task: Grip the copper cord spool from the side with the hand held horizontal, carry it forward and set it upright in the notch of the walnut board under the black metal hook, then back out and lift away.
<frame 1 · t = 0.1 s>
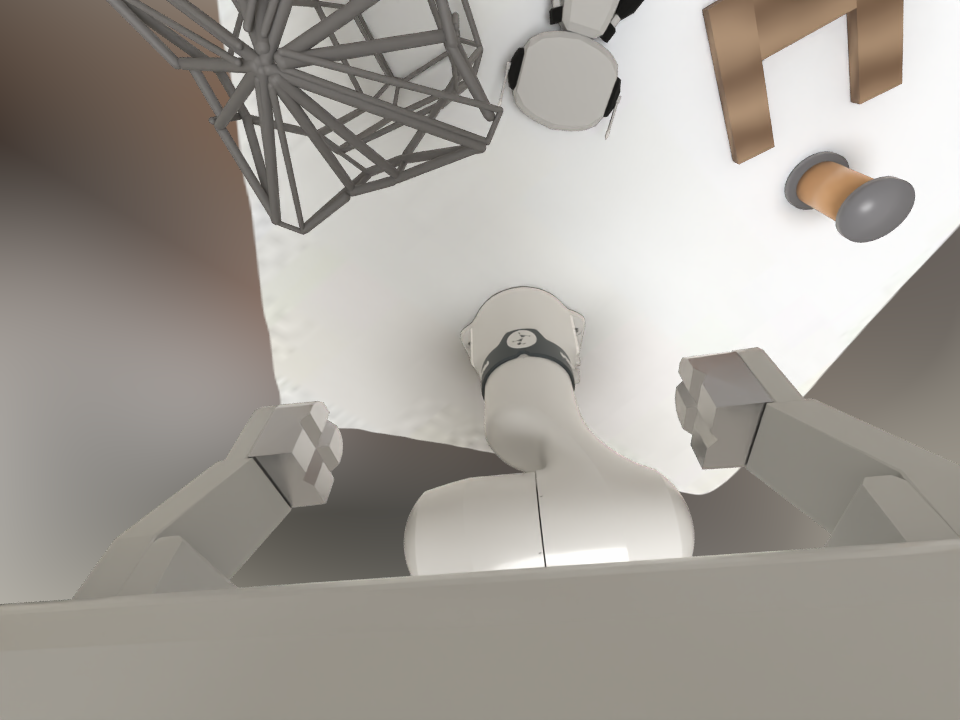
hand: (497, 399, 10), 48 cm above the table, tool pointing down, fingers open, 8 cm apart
geometric lantern: (401, 31, 45), on the table
cord spool: (813, 180, 53), on the table
robot toy: (571, 44, 45), on the table
notched board: (803, 77, 46), on the table
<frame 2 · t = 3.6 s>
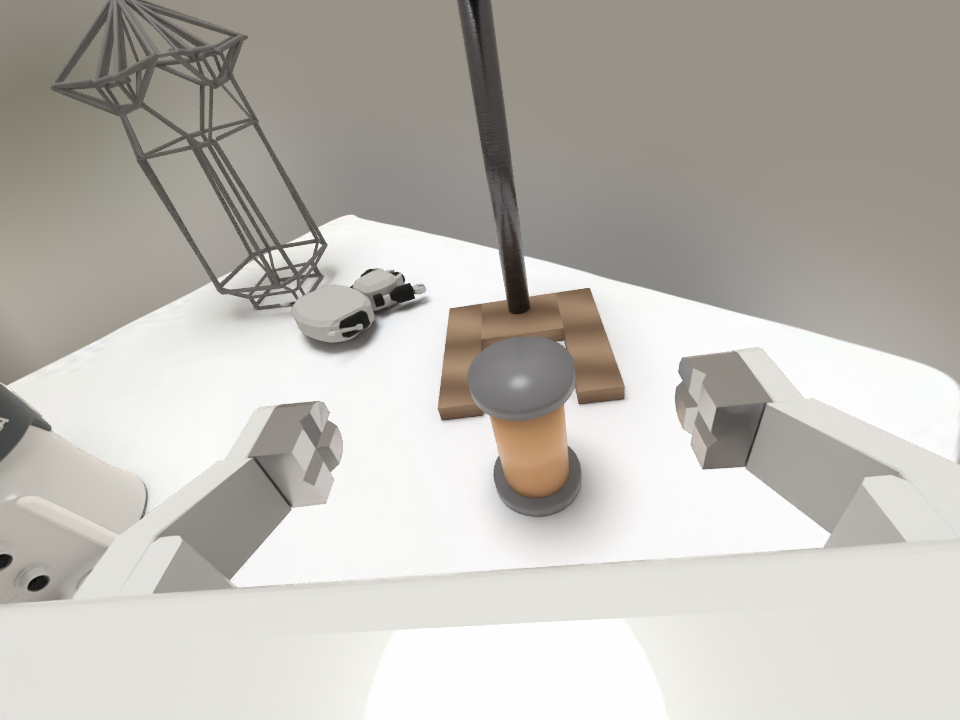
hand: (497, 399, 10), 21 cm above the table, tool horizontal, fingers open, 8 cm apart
geometric lantern: (283, 294, 65), on the table
hook stand: (499, 184, 35), on the notched board, point 17 cm above the table
cord spool: (537, 477, 33), on the table
robot toy: (363, 318, 56), on the table
notched board: (526, 372, 42), on the table
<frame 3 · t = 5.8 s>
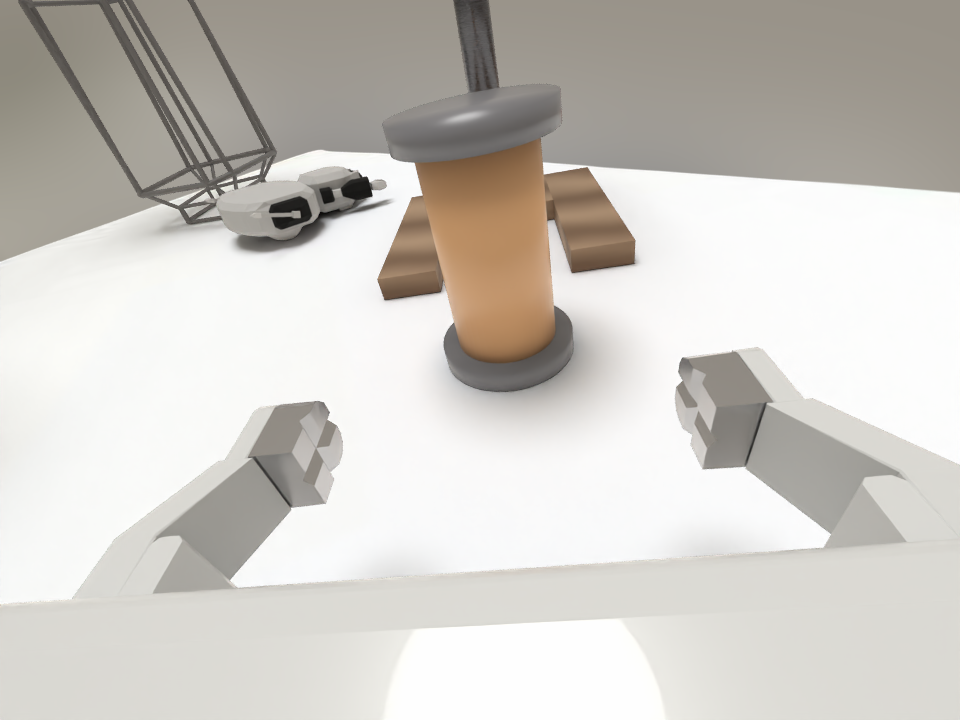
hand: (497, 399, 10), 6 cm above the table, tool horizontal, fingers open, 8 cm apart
geometric lantern: (224, 212, 55), on the table
cord spool: (509, 348, 22), on the table
robot toy: (310, 223, 46), on the table
notched board: (503, 249, 32), on the table
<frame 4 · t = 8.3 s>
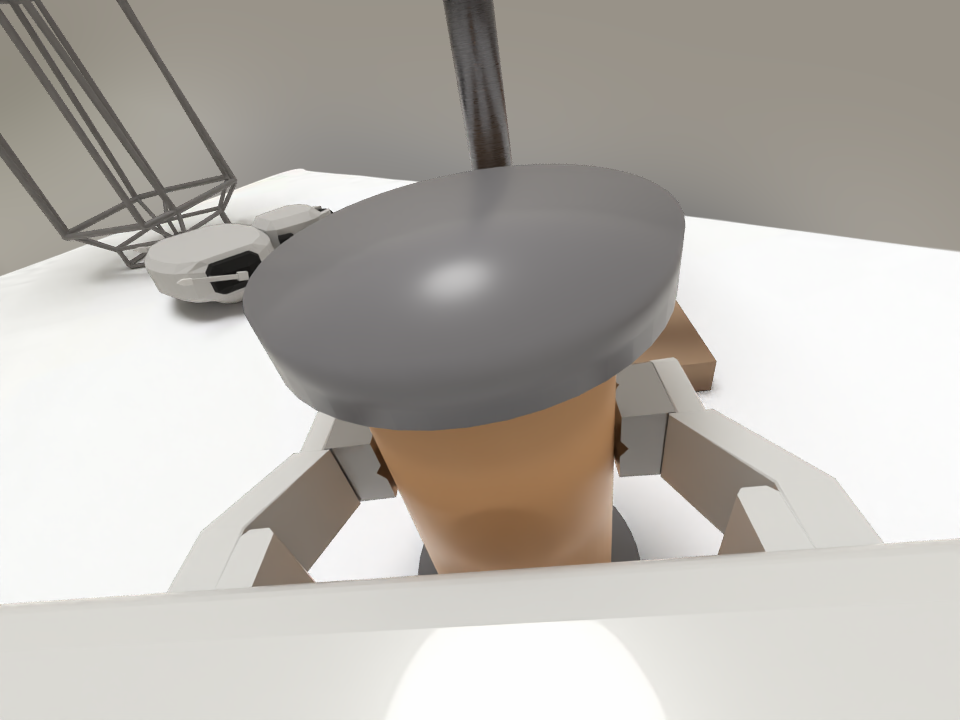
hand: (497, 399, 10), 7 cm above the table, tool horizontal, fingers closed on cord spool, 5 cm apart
geometric lantern: (175, 251, 46), on the table
cord spool: (528, 574, 13), on the table, touching gripper
robot toy: (270, 275, 37), on the table
notched board: (512, 343, 23), on the table
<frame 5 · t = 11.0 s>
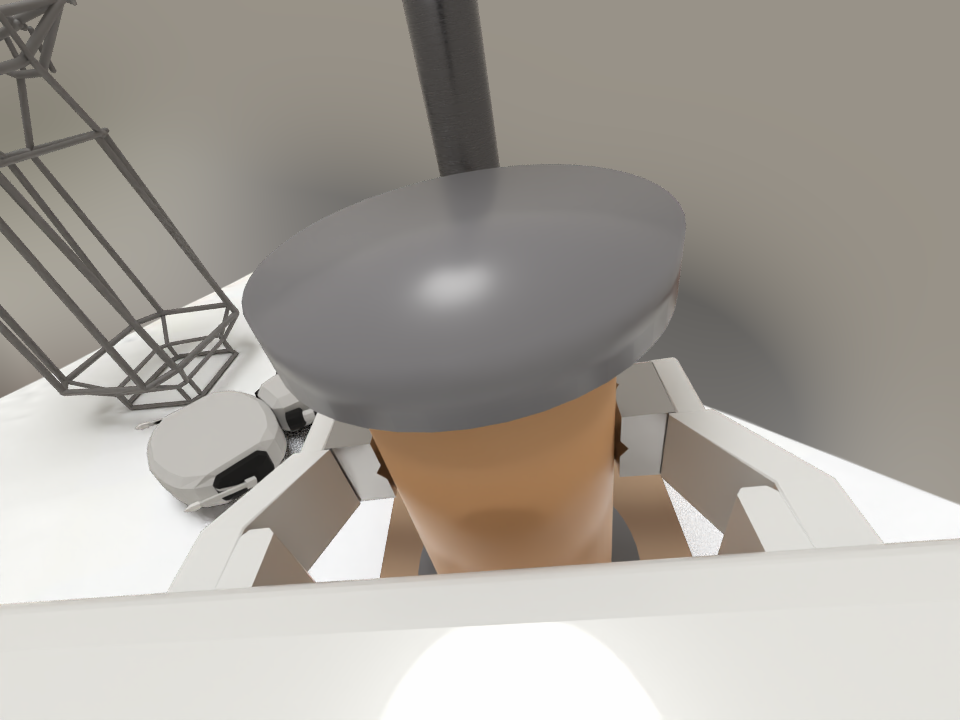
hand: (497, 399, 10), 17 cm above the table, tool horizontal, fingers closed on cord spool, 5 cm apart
geometric lantern: (176, 383, 45), on the table
hook stand: (479, 286, 15), on the notched board, point 17 cm above the table
cord spool: (528, 575, 13), point 10 cm above the table, touching gripper
robot toy: (276, 441, 36), on the table
notched board: (535, 613, 22), on the table
when the fingers open (8 cm above the table, at t = 13.9 s): cord spool drops 1 cm, on the table.
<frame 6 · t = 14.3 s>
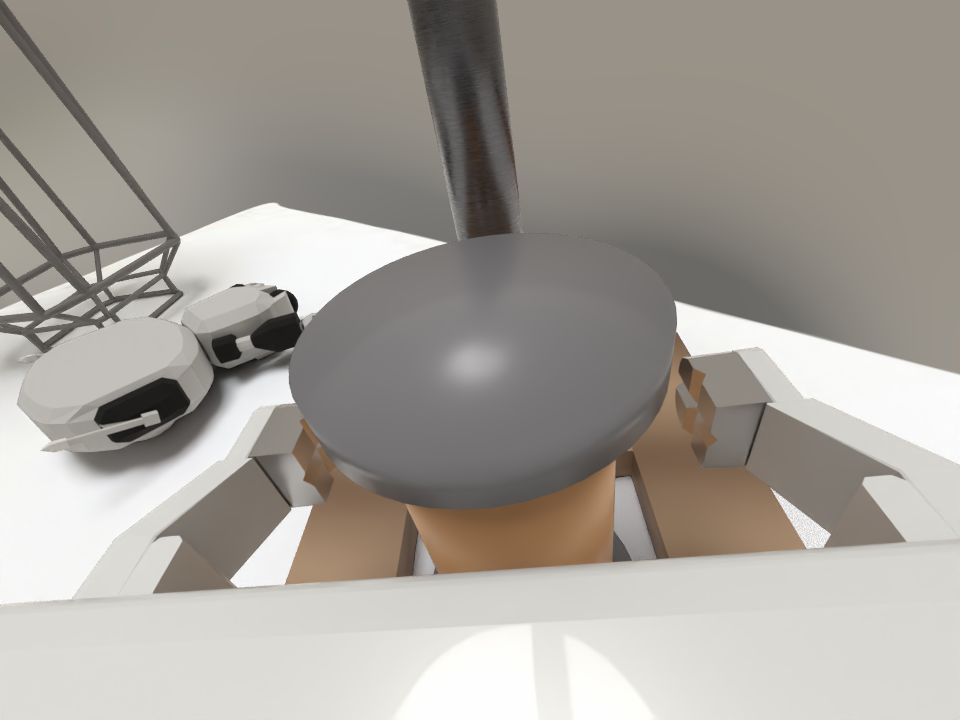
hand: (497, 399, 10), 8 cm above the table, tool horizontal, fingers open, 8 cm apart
geometric lantern: (105, 325, 38), on the table
cord spool: (533, 595, 14), on the table
robot toy: (207, 382, 28), on the table
notched board: (532, 593, 14), on the table
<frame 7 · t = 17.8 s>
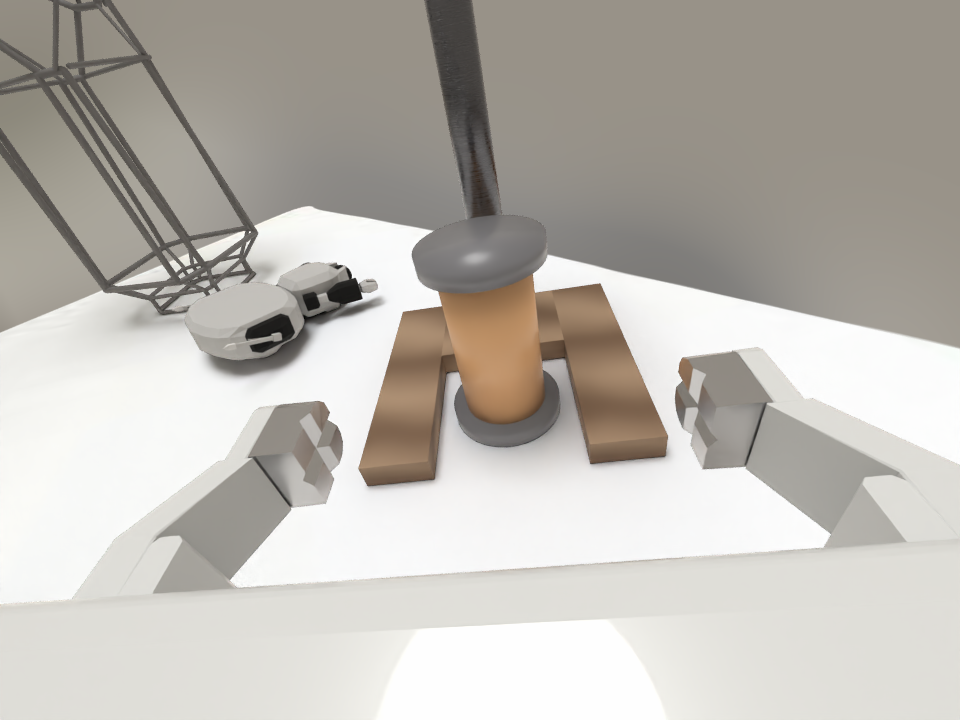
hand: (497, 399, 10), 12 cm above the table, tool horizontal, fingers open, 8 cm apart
geometric lantern: (201, 296, 51), on the table
hook stand: (457, 93, 20), on the notched board, point 17 cm above the table
cord spool: (507, 407, 27), on the table
robot toy: (293, 327, 41), on the table
notched board: (507, 406, 27), on the table
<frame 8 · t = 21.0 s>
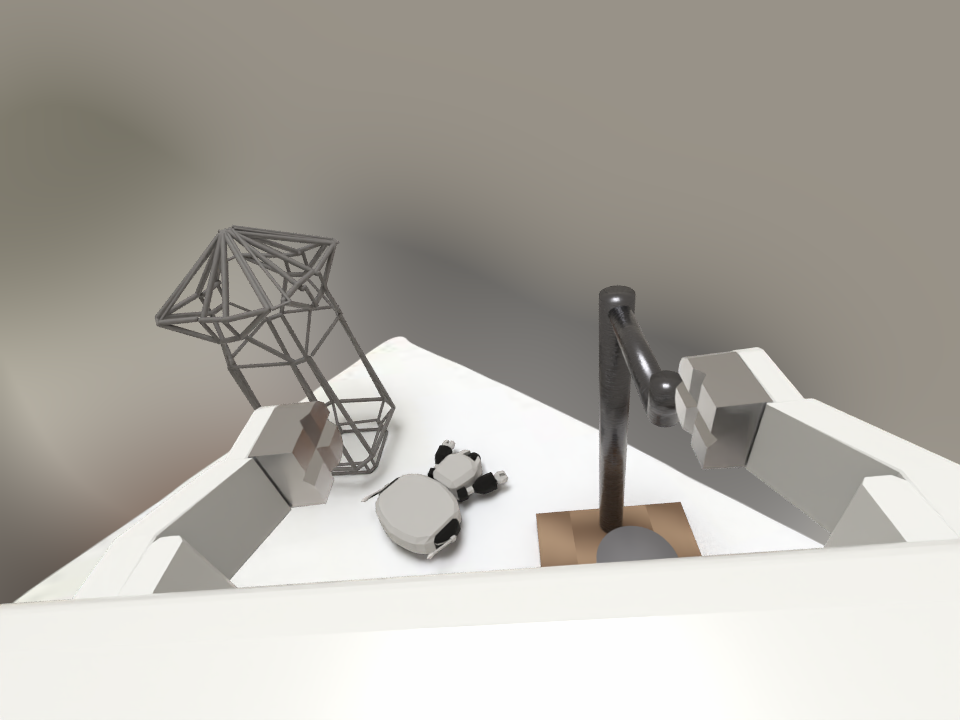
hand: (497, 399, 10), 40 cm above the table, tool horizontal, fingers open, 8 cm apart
geometric lantern: (349, 454, 65), on the table
hook stand: (627, 478, 35), on the notched board, point 17 cm above the table
cord spool: (631, 619, 42), on the table
robot toy: (442, 505, 55), on the table
notched board: (631, 619, 42), on the table
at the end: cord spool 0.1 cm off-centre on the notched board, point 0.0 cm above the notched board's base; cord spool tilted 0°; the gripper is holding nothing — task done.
